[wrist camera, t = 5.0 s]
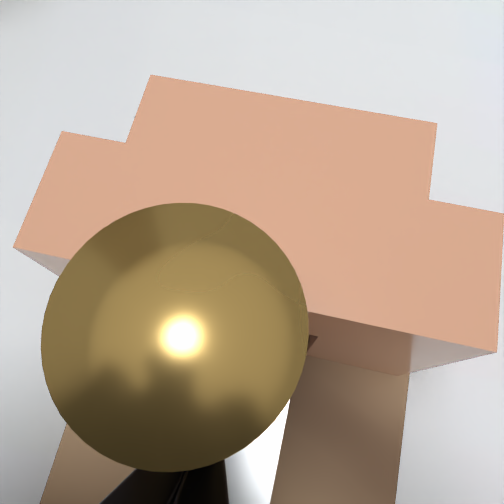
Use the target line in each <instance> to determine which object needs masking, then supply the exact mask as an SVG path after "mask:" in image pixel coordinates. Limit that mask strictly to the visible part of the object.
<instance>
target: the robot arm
mask: <svg viewBox="0 0 504 504" xmlns="http://www.w3.org/2000/svg"><path fill="white" fill-rule="evenodd" d="M99 504H229V496H228V486H227V476H226V466H225V459H224V460H221V461H219V462H216V463H214V464H212V465H209V466H205V467H201V468H197V469H193V470H187V471H178V472H152V471H147V470H141V469H135V470H134V471H132V472H131V473H130V474H129V475H128V476H127V477H126V478H125V479H124V480H123V481H122V482H121V483H120V484H119V485H118V486H117V487H116V488H115V489H114V490H113V491H112V492H111V493H110V494H108V495H107V496H106V497H105V498H104V499H103V500H102V501H101V502H100V503H99Z"/></svg>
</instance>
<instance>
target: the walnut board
mask: <svg viewBox="0 0 504 504" xmlns="http://www.w3.org/2000/svg"><path fill="white" fill-rule="evenodd" d="M409 374H410V373H407V374H403V375H399V376H395V375H391V374H387V373H382V372H378V371H373V370H369V369H365V368H360V367H356V366H351V365H347V364H343V363H338V362H334V361H329V360H325V359H321V358H316V357H312V356H307V355H306V358H305V362H304V366H303V370H302V373H301V376H300V378H299V381H298V383H297V386H296V388H295V391H294V392H293V394H292V396H291V398H290V401H289V406H288V411H287V416H286V422H285V427H284V432H283V437H282V443H281V448H280V453H279V458H278V464H277V469H276V474H275V479H274V484H273V490H272V495H271V500H270V504H395V499H396V490H397V481H398V473H399V464H400V455H401V446H402V437H403V428H404V419H405V410H406V401H407V392H408V383H409ZM135 469H136V468H132V467H129V466H126V465H123V464H120V463H117V462H115V461H113V460H111V459H109V458H107V457H105V456H104V455H102V454H100V453H98V452H97V451H96V450H94V449H93V448H91V447H90V446H89V445H87V444H86V443H85V442H84V441H83V440H82V439H81V438H80V437H79V436H78V435H77V434H76V433H75V432H74V431H73V430H72V429H71V428H70V427H69V425H68V424H66V427H65V430H64V433H63V436H62V439H61V442H60V445H59V448H58V451H57V454H56V457H55V460H54V463H53V466H52V468H51V471H50V474H49V477H48V480H47V483H46V486H45V489H44V492H43V495H42V498H41V501H40V504H99V503H100V502H101V501H102V500H103V499H104V498H105V497H106V496H107V495H108V494H110V493H111V492H112V491H113V490H114V489H115V488H116V487H117V486H118V485H119V484H120V483H121V482H122V481H123V480H124V479H125V478H126V477H127V476H128V475H129V474H130V473H131V472H132V471H134V470H135Z"/></svg>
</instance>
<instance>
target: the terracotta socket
mask: <svg viewBox="0 0 504 504" xmlns="http://www.w3.org/2000/svg"><path fill="white" fill-rule="evenodd" d="M436 130H437V123H433V122H427V121H421V120H415V119H409V118H403V117H397V116H391V115H385V114H380V113H374V112H368V111H362V110H356V109H350V108H344V107H338V106H332V105H326V104H321V103H315V102H309V101H303V100H297V99H291V98H285V97H279V96H273V95H267V94H262V93H256V92H250V91H244V90H238V89H232V88H226V87H220V86H214V85H208V84H203V83H197V82H191V81H185V80H179V79H173V78H167V77H161V76H155V75H150V78H149V81H148V83H147V86H146V89H145V91H144V94H143V97H142V100H141V102H140V105H139V108H138V111H137V113H136V116H135V119H134V121H133V124H132V127H131V130H130V132H129V135H128V138H127V141H126V143H123V142H117V141H112V140H107V139H101V138H96V137H91V136H85V135H80V134H75V133H69V132H64V131H62V132H61V135H60V137H59V139H58V142H57V144H56V146H55V149H54V151H53V153H52V156H51V158H50V160H49V163H48V165H47V168H46V170H45V172H44V175H43V177H42V179H41V182H40V184H39V186H38V189H37V191H36V194H35V196H34V198H33V201H32V203H31V205H30V208H29V210H28V212H27V215H26V217H25V220H24V222H23V224H22V227H21V229H20V231H19V234H18V236H17V238H16V241H15V243H14V246H13V248H15V249H16V250H18V251H20V252H21V253H23V254H24V255H26V256H27V257H29V258H31V259H32V260H34V261H35V262H37V263H39V264H40V265H42V266H43V267H45V268H47V269H48V270H50V271H51V272H53V273H54V274H56V275H58V276H60V275H61V273H62V272H63V270H64V268H65V267H66V265H67V264H68V262H69V261H70V260H71V259H72V257H73V256H74V255H75V253H76V252H77V251H78V250H79V249H80V248H81V247H82V246H83V245H84V244H85V243H86V242H87V241H88V240H89V239H90V238H91V237H93V236H94V235H95V234H96V233H98V232H99V231H100V230H101V229H103V228H104V227H106V226H108V225H109V224H111V223H112V222H114V221H115V220H117V219H120V218H122V217H124V216H126V215H128V214H130V213H132V212H135V211H138V210H141V209H144V208H147V207H152V206H156V205H161V204H170V203H197V204H204V205H210V206H214V207H218V208H222V209H225V210H227V211H230V212H232V213H235V214H237V215H239V216H241V217H243V218H245V219H246V220H248V221H250V222H252V223H253V224H255V225H256V226H257V227H259V228H260V229H261V230H263V231H264V232H265V233H266V234H267V235H268V236H269V237H270V238H271V239H272V240H274V241H275V242H276V243H277V245H278V246H279V247H280V249H281V250H282V251H283V252H284V254H285V255H286V256H287V258H288V259H289V261H290V263H291V264H292V266H293V268H294V269H295V272H296V274H297V276H298V279H299V281H300V283H301V286H302V289H303V293H304V296H305V300H306V305H307V312H308V322H309V338H308V346H307V354H306V355H307V356H312V357H316V358H321V359H325V360H329V361H334V362H338V363H343V364H347V365H351V366H356V367H360V368H365V369H369V370H373V371H378V372H382V373H387V374H391V375H395V376H399V375H403V374H407V373H412V372H416V371H420V370H424V369H429V368H433V367H437V366H441V365H446V364H450V363H454V362H458V361H463V360H467V359H471V358H475V357H479V356H484V355H488V354H492V353H496V352H497V342H498V323H499V304H500V284H501V265H502V246H503V227H504V214H503V213H498V212H492V211H487V210H482V209H476V208H471V207H466V206H460V205H455V204H450V203H444V202H439V201H434V200H429V192H430V183H431V175H432V166H433V157H434V148H435V139H436Z"/></svg>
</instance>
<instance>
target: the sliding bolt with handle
mask: <svg viewBox="0 0 504 504" xmlns="http://www.w3.org/2000/svg"><path fill="white" fill-rule="evenodd" d="M308 338H309V322H308V312H307V305H306V300H305V296H304V293H303V289H302V286H301V283H300V281H299V279H298V276H297V274H296V272H295V269H294V268H293V266H292V264H291V263H290V261H289V259H288V258H287V256H286V255H285V254H284V252H283V251H282V250H281V249H280V247H279V246H278V245H277V243H276V242H275V241H274V240H272V239H271V238H270V237H269V236H268V235H267V234H266V233H265V232H264V231H263V230H261V229H260V228H259V227H257V226H256V225H255V224H253V223H252V222H250V221H248V220H246V219H245V218H243V217H241V216H239V215H237V214H235V213H232V212H230V211H227V210H225V209H222V208H218V207H214V206H210V205H204V204H197V203H170V204H161V205H156V206H152V207H147V208H144V209H141V210H138V211H135V212H132V213H130V214H128V215H126V216H124V217H122V218H120V219H117V220H115V221H114V222H112V223H111V224H109V225H108V226H106V227H104V228H103V229H101V230H100V231H99V232H98V233H96V234H95V235H94V236H93V237H91V238H90V239H89V240H88V241H87V242H86V243H85V244H84V245H83V246H82V247H81V248H80V249H79V250H78V251H77V252H76V253H75V255H74V256H73V257H72V259H71V260H70V261H69V262H68V264H67V265H66V267H65V268H64V270H63V272H62V273H61V275H60V276H59V278H58V280H57V282H56V284H55V286H54V289H53V291H52V293H51V295H50V298H49V301H48V304H47V308H46V311H45V315H44V320H43V326H42V335H41V355H42V366H43V371H44V375H45V380H46V384H47V386H48V389H49V392H50V395H51V397H52V400H53V402H54V403H55V405H56V407H57V409H58V411H59V413H60V415H61V416H62V417H63V419H64V420H65V421H66V423H67V424H68V425H69V427H70V428H71V429H72V430H73V431H74V432H75V433H76V434H77V435H78V436H79V437H80V438H81V439H82V440H83V441H84V442H85V443H86V444H87V445H89V446H90V447H91V448H93V449H94V450H96V451H97V452H98V453H100V454H102V455H104V456H105V457H107V458H109V459H111V460H113V461H115V462H117V463H120V464H123V465H126V466H129V467H132V468H136V469H141V470H147V471H152V472H178V471H187V470H193V469H197V468H201V467H205V466H209V465H212V464H214V463H216V462H219V461H221V460H224V459H225V466H226V476H227V486H228V496H229V504H270V500H271V495H272V490H273V484H274V479H275V474H276V469H277V464H278V458H279V453H280V448H281V443H282V437H283V432H284V427H285V422H286V416H287V411H288V406H289V401H290V398H291V396H292V394H293V392H294V391H295V388H296V386H297V383H298V381H299V378H300V376H301V373H302V370H303V366H304V362H305V358H306V354H307V346H308Z"/></svg>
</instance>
